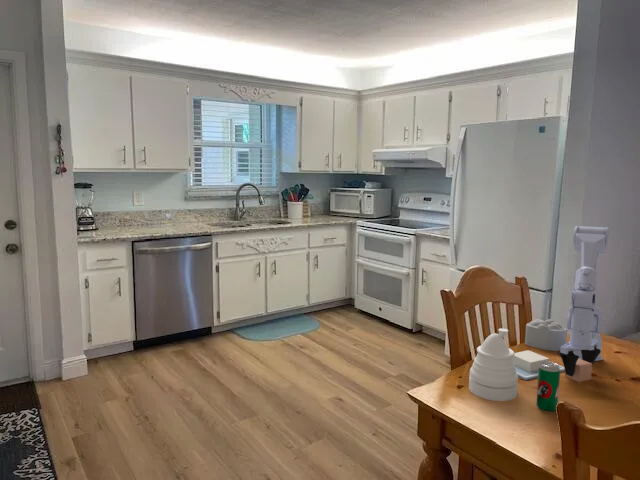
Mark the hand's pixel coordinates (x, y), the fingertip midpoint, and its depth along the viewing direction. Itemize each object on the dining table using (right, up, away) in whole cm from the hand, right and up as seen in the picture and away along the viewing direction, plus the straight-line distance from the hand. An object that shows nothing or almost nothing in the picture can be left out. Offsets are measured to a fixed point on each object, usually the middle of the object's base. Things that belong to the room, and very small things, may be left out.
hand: (578, 372), depth 147 cm
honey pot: (-29, -3, -9) cm, 30 cm away
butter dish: (-11, 0, +8) cm, 14 cm away
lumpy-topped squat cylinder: (+3, +2, +28) cm, 28 cm away
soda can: (-18, -4, -19) cm, 27 cm away
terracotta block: (0, -2, 0) cm, 2 cm away
